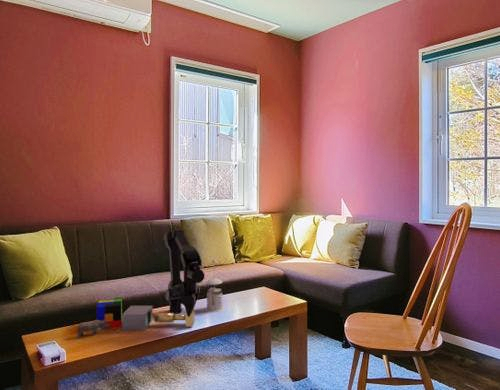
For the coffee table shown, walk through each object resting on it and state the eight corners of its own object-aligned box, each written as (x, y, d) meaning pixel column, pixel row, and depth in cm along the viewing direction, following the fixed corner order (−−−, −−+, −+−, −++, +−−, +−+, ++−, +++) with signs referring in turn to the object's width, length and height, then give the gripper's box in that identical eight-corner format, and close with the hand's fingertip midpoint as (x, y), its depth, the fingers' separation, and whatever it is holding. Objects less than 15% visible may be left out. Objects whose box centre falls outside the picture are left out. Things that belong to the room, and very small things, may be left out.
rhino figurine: (112, 332, 168) (111, 318, 168) (77, 339, 161) (77, 325, 160) (109, 329, 172) (109, 315, 172) (75, 336, 164) (75, 322, 164)
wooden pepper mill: (157, 321, 179) (156, 308, 179) (194, 321, 179) (194, 308, 179) (153, 326, 173) (153, 313, 173) (192, 326, 173) (192, 312, 173)
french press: (225, 306, 203) (225, 258, 202) (222, 313, 192) (221, 262, 191) (207, 305, 204) (206, 257, 203) (202, 313, 193) (201, 262, 192)
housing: (131, 320, 182) (130, 305, 182) (152, 320, 182) (152, 305, 182) (122, 330, 170) (122, 314, 170) (145, 330, 170) (145, 314, 170)
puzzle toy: (96, 330, 171) (96, 307, 171) (99, 322, 181) (98, 300, 180) (121, 327, 174) (120, 305, 174) (122, 320, 183) (121, 298, 183)
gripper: (176, 273, 185) (176, 306, 185) (167, 283, 166) (167, 320, 166) (199, 273, 185) (200, 306, 185) (193, 283, 166) (194, 320, 166)
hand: (190, 313), depth 176 cm, fingers open, 9 cm apart
